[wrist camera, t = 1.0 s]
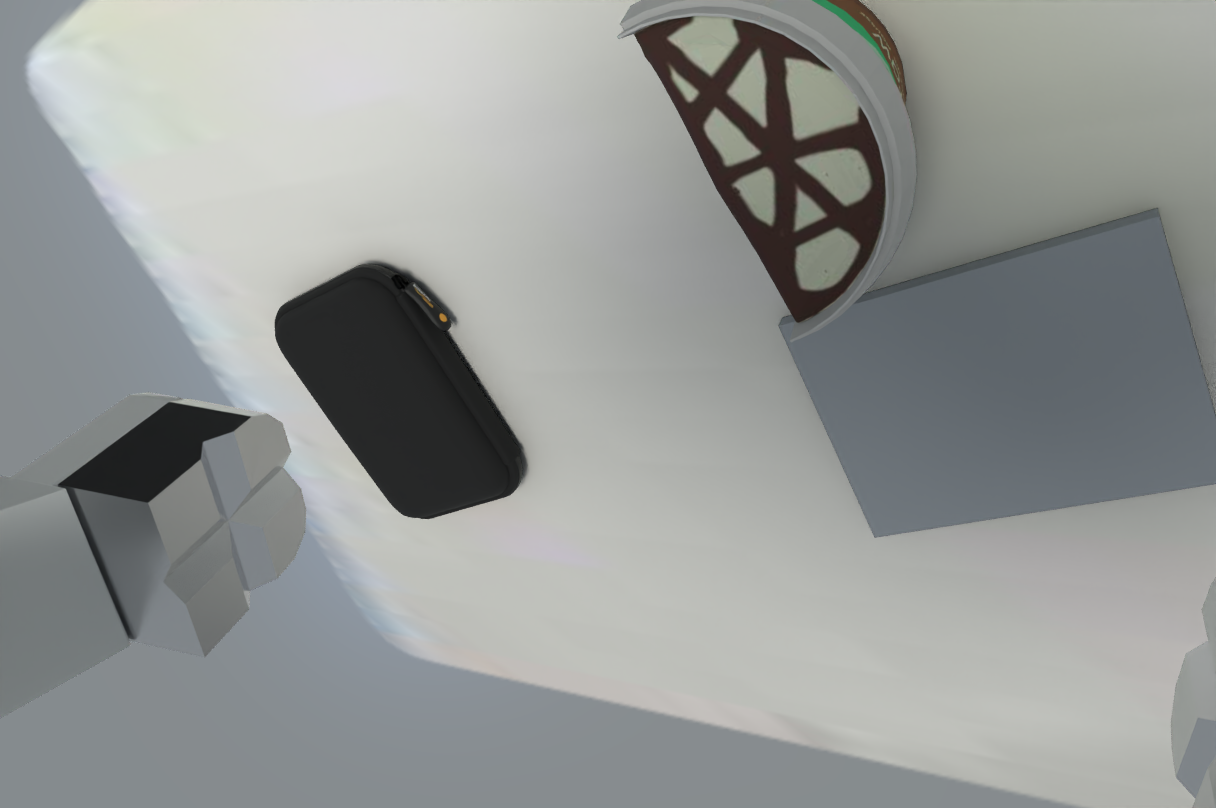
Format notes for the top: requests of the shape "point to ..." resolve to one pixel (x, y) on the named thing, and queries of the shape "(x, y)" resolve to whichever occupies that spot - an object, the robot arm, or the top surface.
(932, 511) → the slate mat
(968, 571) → the top surface
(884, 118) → the food container
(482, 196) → the top surface
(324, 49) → the top surface
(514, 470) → the carrying case or bag
